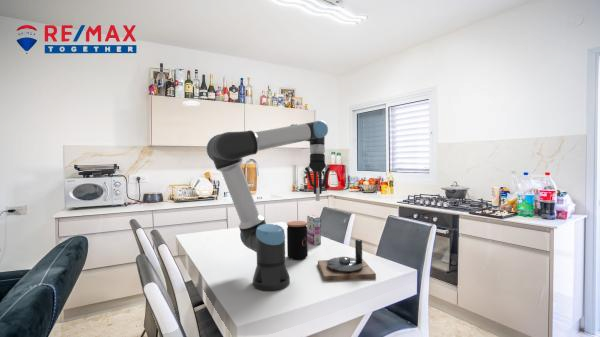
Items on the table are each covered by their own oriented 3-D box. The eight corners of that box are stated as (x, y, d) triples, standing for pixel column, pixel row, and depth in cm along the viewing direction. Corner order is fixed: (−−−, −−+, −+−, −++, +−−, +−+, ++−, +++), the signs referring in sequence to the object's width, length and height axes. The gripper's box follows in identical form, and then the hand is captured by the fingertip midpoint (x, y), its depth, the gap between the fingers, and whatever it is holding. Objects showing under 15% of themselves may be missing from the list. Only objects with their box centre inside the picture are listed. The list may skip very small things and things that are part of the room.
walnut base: (324, 280, 123) (324, 275, 123) (317, 264, 143) (317, 260, 143) (375, 278, 125) (375, 273, 125) (362, 262, 145) (362, 258, 145)
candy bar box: (321, 244, 179) (321, 217, 179) (313, 245, 177) (313, 218, 177) (314, 240, 189) (313, 214, 189) (306, 240, 188) (306, 215, 187)
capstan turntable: (329, 273, 126) (329, 246, 126) (325, 260, 142) (324, 236, 142) (366, 271, 126) (366, 245, 126) (358, 259, 142) (357, 236, 142)
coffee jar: (305, 260, 149) (305, 225, 149) (285, 259, 151) (284, 224, 151) (309, 254, 160) (308, 221, 159) (290, 253, 162) (289, 220, 162)
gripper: (328, 154, 154) (328, 200, 152) (303, 154, 152) (303, 200, 151) (331, 153, 146) (332, 200, 145) (305, 152, 145) (305, 201, 143)
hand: (317, 200), depth 148 cm, fingers closed
